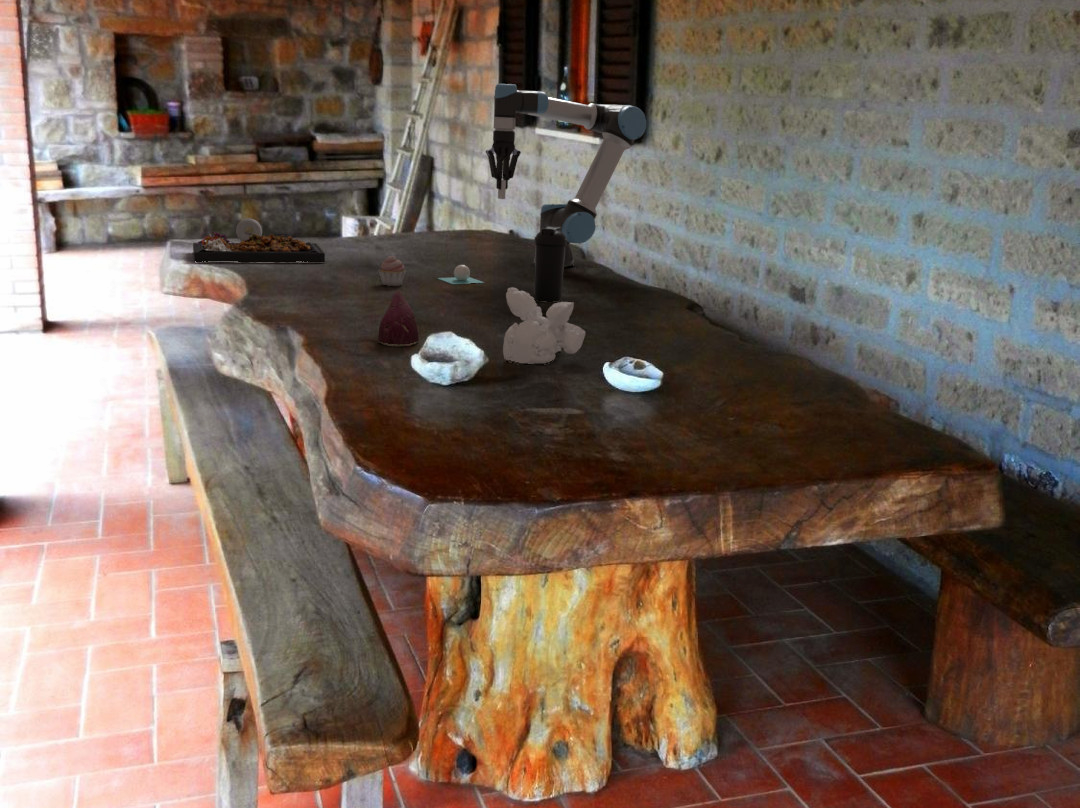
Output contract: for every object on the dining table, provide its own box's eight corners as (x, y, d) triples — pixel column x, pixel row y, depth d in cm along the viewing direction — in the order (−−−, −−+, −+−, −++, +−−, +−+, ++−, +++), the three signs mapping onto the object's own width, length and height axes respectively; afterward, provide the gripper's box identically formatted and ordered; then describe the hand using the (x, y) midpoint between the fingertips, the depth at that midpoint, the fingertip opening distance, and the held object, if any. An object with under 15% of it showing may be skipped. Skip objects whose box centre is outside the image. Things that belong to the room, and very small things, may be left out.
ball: (462, 281, 394) (467, 266, 393) (469, 284, 389) (475, 269, 389) (448, 276, 391) (454, 261, 390) (455, 279, 386) (461, 263, 386)
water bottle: (567, 299, 366) (571, 227, 360) (557, 304, 356) (561, 230, 350) (537, 296, 369) (541, 224, 363) (527, 301, 360) (530, 227, 353)
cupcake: (412, 286, 376) (412, 255, 374) (390, 288, 370) (390, 257, 367) (394, 281, 382) (394, 252, 380) (372, 284, 376) (372, 253, 373)
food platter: (194, 265, 400) (193, 235, 397) (193, 254, 422) (192, 226, 420) (324, 265, 413) (324, 236, 411) (316, 255, 436) (316, 228, 433)
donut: (262, 243, 454) (261, 218, 451) (262, 244, 450) (262, 219, 448) (236, 243, 451) (235, 217, 449) (236, 244, 448) (235, 218, 445)
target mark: (468, 277, 398) (468, 276, 398) (484, 283, 388) (484, 282, 388) (437, 278, 392) (437, 278, 392) (452, 284, 382) (452, 283, 382)
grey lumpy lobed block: (480, 327, 274) (516, 274, 285) (495, 385, 288) (528, 333, 299) (551, 341, 266) (585, 287, 278) (563, 401, 280) (594, 347, 292)
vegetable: (380, 350, 299) (374, 293, 298) (420, 346, 299) (414, 289, 299) (377, 349, 288) (371, 290, 288) (418, 345, 289) (412, 286, 288)
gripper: (515, 129, 404) (512, 197, 410) (482, 128, 397) (480, 197, 404) (525, 131, 397) (522, 199, 404) (492, 130, 391) (490, 199, 397)
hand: (501, 198), depth 404 cm, fingers closed
